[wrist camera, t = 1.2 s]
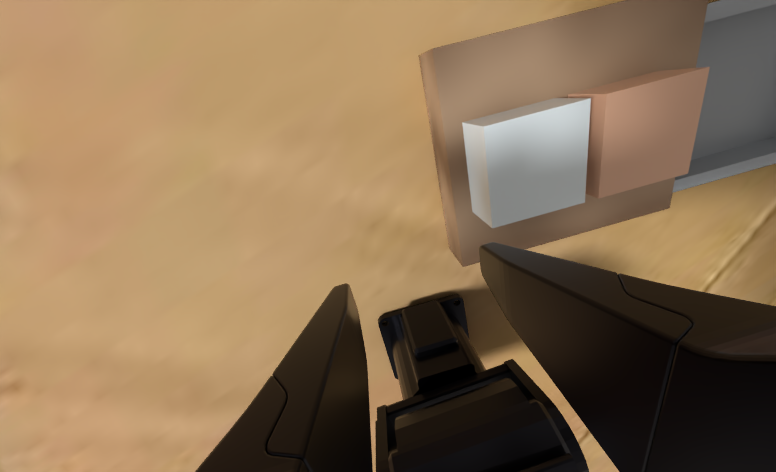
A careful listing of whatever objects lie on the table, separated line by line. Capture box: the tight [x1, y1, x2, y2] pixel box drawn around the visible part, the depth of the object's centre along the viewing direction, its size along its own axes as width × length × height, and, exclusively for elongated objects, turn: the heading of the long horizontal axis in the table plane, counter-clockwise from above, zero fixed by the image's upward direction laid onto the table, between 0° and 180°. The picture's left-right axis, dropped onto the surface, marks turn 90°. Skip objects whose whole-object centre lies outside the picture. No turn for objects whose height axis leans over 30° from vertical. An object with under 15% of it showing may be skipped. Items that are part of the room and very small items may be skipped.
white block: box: [462, 98, 591, 228], centre depth 16 cm, size 5×5×2 cm
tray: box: [672, 0, 776, 193], centre depth 19 cm, size 10×12×2 cm
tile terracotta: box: [568, 67, 710, 199], centre depth 16 cm, size 5×5×2 cm
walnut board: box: [419, 0, 708, 267], centre depth 18 cm, size 12×14×2 cm
